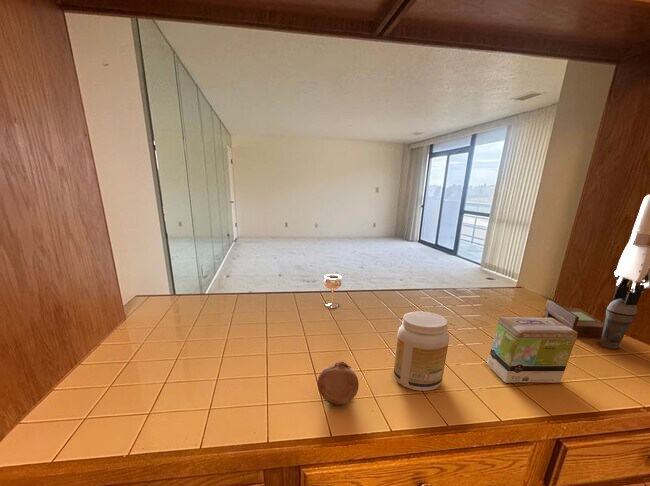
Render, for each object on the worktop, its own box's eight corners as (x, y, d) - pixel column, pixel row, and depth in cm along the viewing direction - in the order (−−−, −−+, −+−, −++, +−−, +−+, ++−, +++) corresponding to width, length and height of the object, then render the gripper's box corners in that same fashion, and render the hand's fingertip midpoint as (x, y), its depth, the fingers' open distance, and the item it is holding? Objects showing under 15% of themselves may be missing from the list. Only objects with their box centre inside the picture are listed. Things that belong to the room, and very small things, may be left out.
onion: (337, 400, 85) (344, 360, 85) (363, 411, 77) (370, 366, 78) (305, 399, 79) (313, 356, 80) (330, 410, 72) (338, 362, 72)
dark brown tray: (575, 318, 131) (581, 300, 129) (607, 338, 115) (614, 318, 112) (542, 316, 132) (547, 299, 129) (569, 336, 116) (576, 317, 113)
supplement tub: (450, 380, 89) (462, 319, 82) (424, 399, 81) (435, 333, 74) (409, 362, 97) (417, 306, 90) (383, 378, 89) (389, 317, 83)
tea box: (505, 384, 87) (520, 331, 82) (486, 364, 97) (497, 316, 91) (562, 383, 89) (579, 331, 83) (537, 364, 98) (551, 315, 92)
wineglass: (320, 306, 138) (320, 276, 133) (330, 301, 143) (330, 273, 138) (334, 309, 134) (335, 280, 129) (343, 305, 139) (345, 276, 134)
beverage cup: (599, 338, 114) (619, 279, 106) (626, 346, 109) (650, 285, 101) (591, 344, 110) (611, 283, 102) (619, 352, 105) (643, 289, 97)
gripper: (687, 246, 89) (660, 312, 96) (638, 235, 104) (618, 293, 111) (656, 245, 89) (631, 311, 96) (612, 235, 105) (593, 292, 112)
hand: (624, 301), depth 104 cm, fingers closed on beverage cup, 4 cm apart
